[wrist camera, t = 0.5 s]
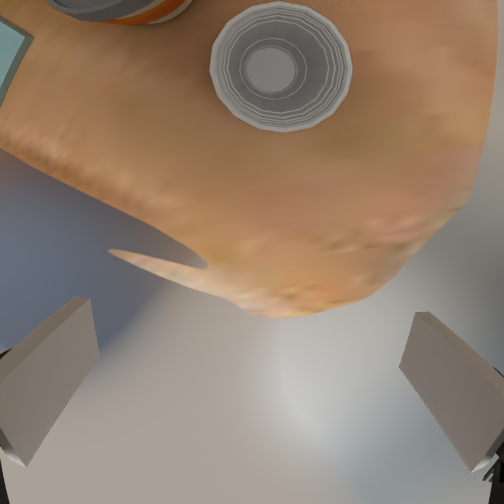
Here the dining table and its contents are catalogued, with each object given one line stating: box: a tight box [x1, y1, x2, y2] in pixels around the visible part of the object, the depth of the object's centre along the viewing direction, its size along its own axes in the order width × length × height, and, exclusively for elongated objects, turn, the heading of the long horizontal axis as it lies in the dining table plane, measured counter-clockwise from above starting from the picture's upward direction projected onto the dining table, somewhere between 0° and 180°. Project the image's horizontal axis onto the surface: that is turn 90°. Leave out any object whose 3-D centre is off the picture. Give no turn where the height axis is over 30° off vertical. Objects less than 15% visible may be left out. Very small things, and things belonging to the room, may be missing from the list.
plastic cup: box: [209, 1, 353, 133], centre depth 24 cm, size 11×11×12 cm
